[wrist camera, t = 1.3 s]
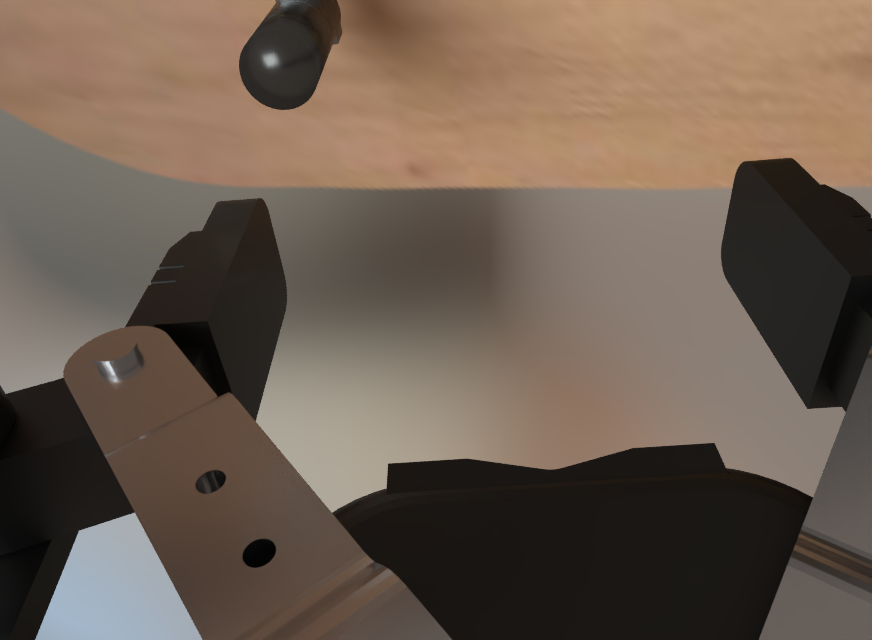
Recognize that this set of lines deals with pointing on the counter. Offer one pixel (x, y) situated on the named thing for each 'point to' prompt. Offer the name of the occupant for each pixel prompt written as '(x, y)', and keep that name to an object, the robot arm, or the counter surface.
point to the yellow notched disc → (290, 51)
